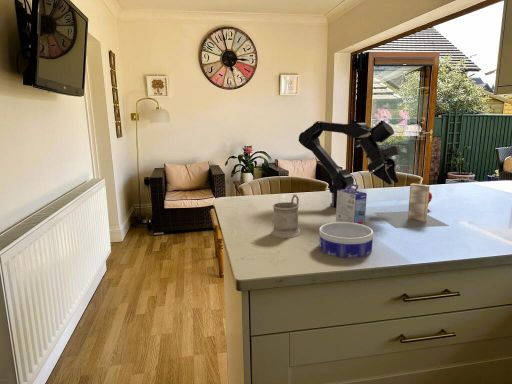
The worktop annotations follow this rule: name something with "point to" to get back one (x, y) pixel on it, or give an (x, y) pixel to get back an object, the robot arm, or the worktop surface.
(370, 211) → the worktop surface
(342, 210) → the ink cartridge box
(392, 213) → the mat
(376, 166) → the robot arm
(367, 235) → the dog bowl
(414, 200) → the board
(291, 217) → the mug
